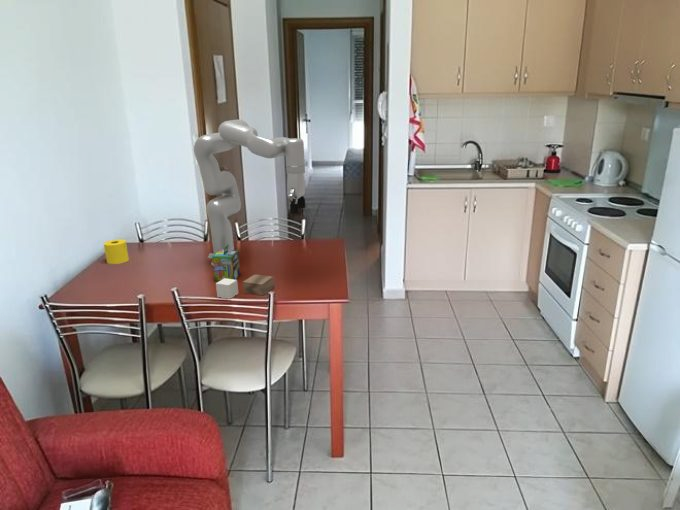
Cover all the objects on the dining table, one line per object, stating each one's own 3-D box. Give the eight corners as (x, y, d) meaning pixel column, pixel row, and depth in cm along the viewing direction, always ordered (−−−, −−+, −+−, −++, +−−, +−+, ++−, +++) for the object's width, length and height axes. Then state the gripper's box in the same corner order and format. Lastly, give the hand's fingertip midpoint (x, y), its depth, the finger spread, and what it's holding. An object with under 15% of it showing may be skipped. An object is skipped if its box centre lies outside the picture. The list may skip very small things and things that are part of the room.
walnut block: (243, 293, 214) (242, 281, 212) (255, 285, 222) (254, 274, 220) (263, 296, 211) (262, 284, 209) (274, 288, 218) (273, 276, 217)
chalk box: (221, 273, 236) (217, 242, 231) (241, 274, 235) (238, 242, 230) (214, 281, 227) (210, 248, 223) (234, 281, 226) (231, 248, 221)
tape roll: (119, 264, 252) (115, 246, 249) (102, 263, 256) (99, 244, 253) (133, 258, 261) (130, 240, 258) (116, 256, 265) (113, 238, 262)
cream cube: (217, 297, 210) (215, 283, 208) (226, 291, 216) (224, 278, 214) (229, 299, 208) (228, 285, 206) (238, 293, 213) (237, 279, 211)
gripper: (293, 166, 223) (295, 205, 229) (279, 173, 207) (282, 215, 213) (310, 166, 221) (312, 206, 227) (298, 173, 205) (300, 216, 211)
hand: (298, 210), depth 220 cm, fingers open, 9 cm apart
